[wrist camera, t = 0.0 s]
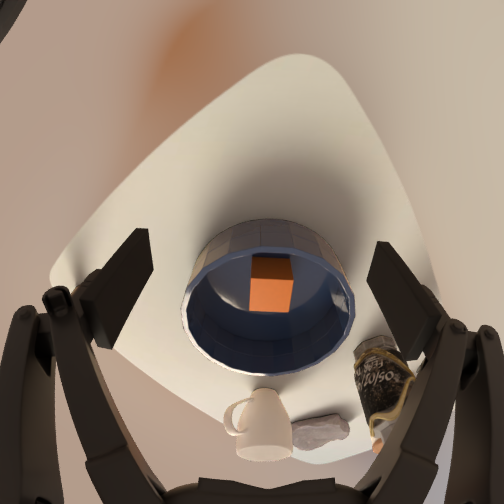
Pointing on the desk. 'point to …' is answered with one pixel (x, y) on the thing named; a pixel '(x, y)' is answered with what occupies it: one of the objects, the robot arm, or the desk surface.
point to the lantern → (382, 384)
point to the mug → (261, 427)
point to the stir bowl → (262, 322)
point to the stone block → (318, 431)
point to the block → (270, 284)
